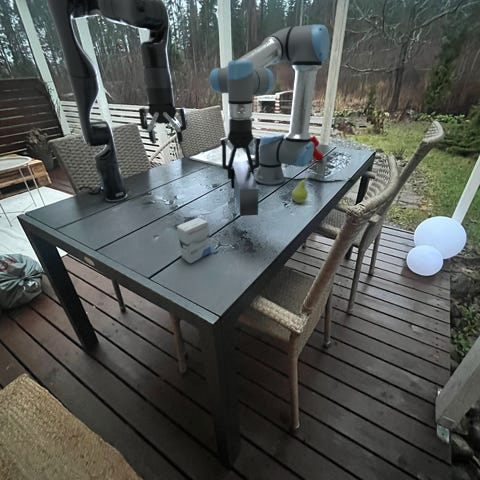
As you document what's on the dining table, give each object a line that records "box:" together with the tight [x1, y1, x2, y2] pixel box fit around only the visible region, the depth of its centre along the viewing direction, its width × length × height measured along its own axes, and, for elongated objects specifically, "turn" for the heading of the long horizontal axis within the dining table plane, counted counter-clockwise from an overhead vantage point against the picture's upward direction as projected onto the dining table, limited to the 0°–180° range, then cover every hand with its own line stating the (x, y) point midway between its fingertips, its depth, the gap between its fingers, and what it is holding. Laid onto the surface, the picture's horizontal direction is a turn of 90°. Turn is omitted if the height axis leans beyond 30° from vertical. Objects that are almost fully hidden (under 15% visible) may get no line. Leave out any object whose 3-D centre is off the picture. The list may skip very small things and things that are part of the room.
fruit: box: [291, 174, 311, 204], centre depth 118 cm, size 7×8×12 cm
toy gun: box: [311, 135, 324, 163], centre depth 172 cm, size 18×4×15 cm
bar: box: [232, 161, 260, 217], centre depth 90 cm, size 26×5×8 cm, turn 6°
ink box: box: [176, 216, 212, 264], centre depth 84 cm, size 8×5×12 cm, turn 135°
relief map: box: [189, 144, 255, 169], centre depth 177 cm, size 27×35×5 cm
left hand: (167, 143), depth 88 cm, fingers open, 8 cm apart
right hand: (240, 186), depth 99 cm, fingers closed on bar, 5 cm apart
